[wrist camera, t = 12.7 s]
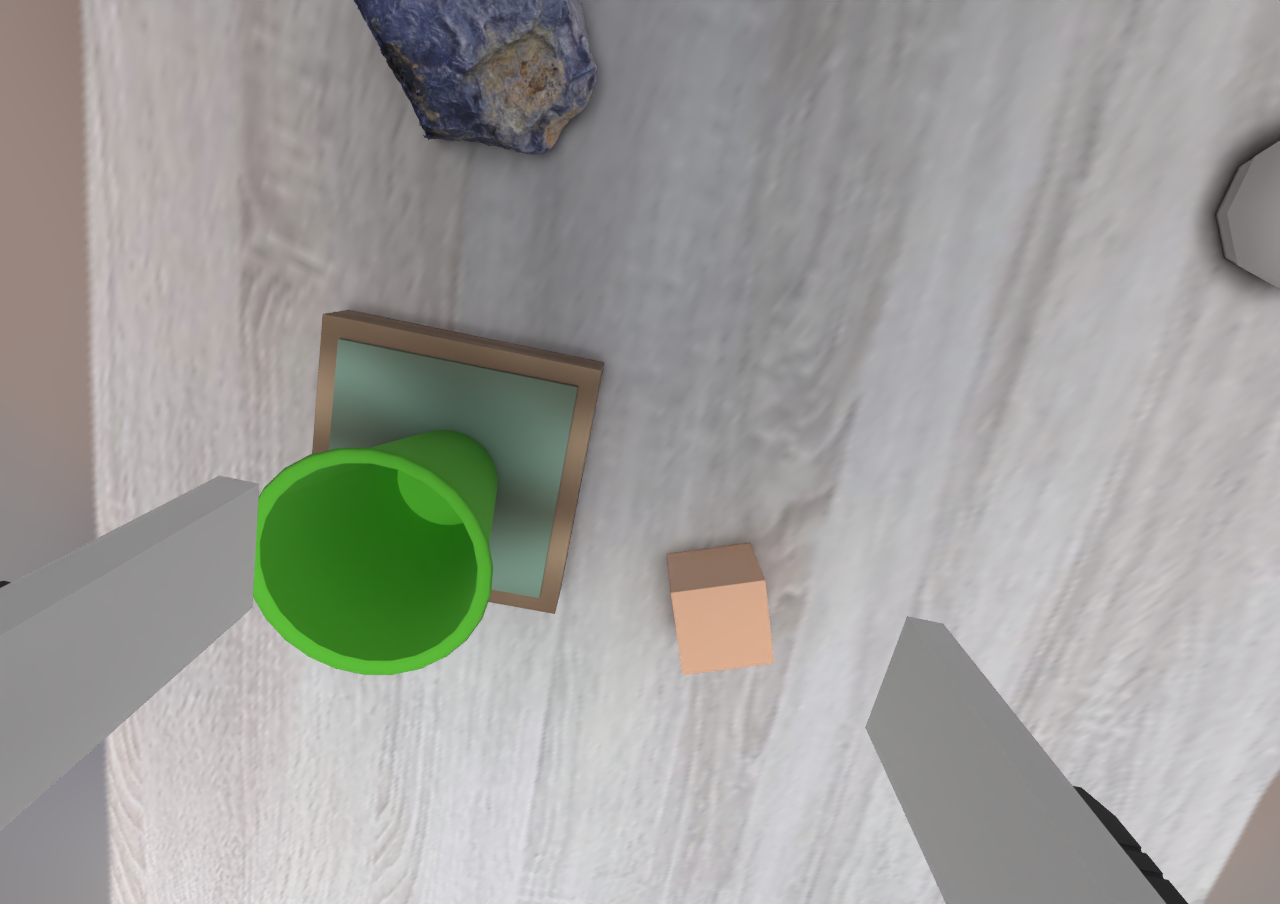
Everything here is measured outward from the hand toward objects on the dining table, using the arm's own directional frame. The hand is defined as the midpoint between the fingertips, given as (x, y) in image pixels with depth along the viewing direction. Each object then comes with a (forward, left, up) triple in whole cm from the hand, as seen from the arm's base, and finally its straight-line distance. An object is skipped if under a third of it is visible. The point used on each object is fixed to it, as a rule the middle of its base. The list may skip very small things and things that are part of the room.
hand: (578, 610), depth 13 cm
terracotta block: (+11, +8, -25) cm, 28 cm away
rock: (-15, -9, -25) cm, 31 cm away
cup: (+6, -8, -21) cm, 23 cm away
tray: (+6, -8, -25) cm, 26 cm away
